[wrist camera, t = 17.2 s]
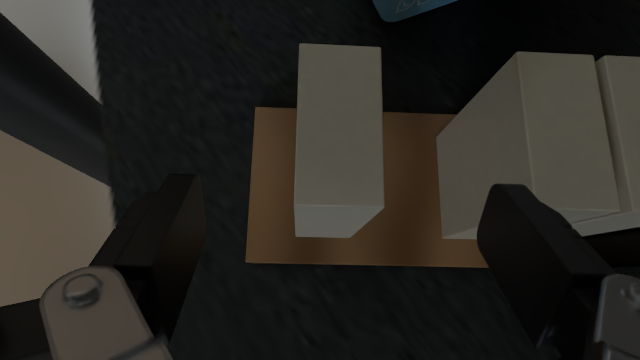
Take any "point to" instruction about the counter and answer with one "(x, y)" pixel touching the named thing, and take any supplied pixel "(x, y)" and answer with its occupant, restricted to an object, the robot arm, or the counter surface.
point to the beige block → (338, 140)
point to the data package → (405, 8)
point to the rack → (476, 168)
